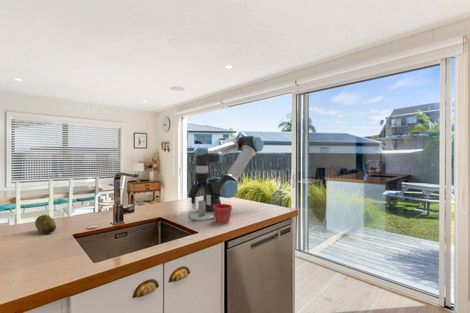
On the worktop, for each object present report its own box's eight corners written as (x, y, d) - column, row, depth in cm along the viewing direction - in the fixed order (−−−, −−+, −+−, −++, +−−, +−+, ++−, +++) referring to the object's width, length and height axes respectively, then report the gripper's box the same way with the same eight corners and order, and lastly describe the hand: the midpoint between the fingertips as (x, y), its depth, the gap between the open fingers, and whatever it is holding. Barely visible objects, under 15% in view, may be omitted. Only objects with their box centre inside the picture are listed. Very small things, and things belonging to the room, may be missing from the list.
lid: (188, 215, 160) (188, 199, 159) (209, 213, 165) (209, 198, 165) (192, 221, 147) (193, 204, 146) (215, 219, 152) (216, 202, 151)
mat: (188, 216, 160) (188, 215, 160) (209, 214, 165) (209, 213, 165) (193, 222, 147) (193, 221, 147) (215, 220, 152) (215, 219, 152)
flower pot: (229, 225, 141) (229, 208, 141) (210, 224, 143) (210, 207, 143) (233, 220, 151) (233, 204, 151) (215, 219, 153) (216, 203, 153)
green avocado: (35, 236, 120) (35, 220, 120) (34, 230, 130) (34, 214, 130) (56, 233, 126) (56, 217, 125) (54, 227, 136) (54, 212, 135)
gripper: (210, 171, 167) (209, 202, 168) (182, 173, 147) (182, 209, 147) (219, 171, 163) (218, 204, 164) (192, 174, 143) (191, 211, 143)
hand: (201, 206), depth 155 cm, fingers open, 13 cm apart
